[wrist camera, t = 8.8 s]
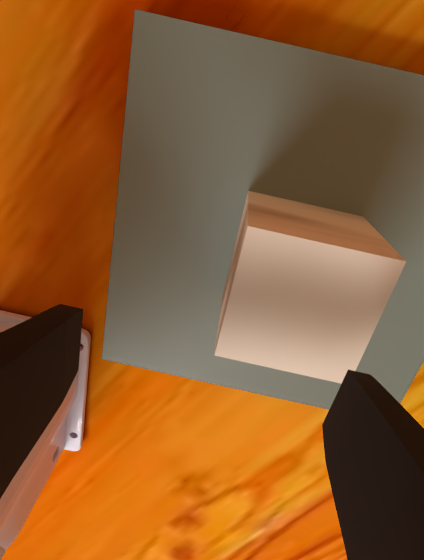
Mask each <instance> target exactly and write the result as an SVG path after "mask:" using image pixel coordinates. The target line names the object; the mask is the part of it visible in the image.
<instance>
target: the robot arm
mask: <svg viewBox="0 0 424 560" xmlns="http://www.w3.org/2000/svg"><path fill="white" fill-rule="evenodd" d="M82 317H83V309H80V308H76V307H71V306H67V305H62V304H60V305H57V306H55V307H53V308H50V309H48V310H46V311H44V312H42V313H40V314H38V315H36V316H34V317H29V316H24V315H20V314H15V313H11V312H6V311H2V310H0V560H1V559H2V557H3V555H4V553H5V550H6V549H7V548H8V547H9V546H10V545H11V544H12V543H13V541H14V540H15V539H16V537H17V536H18V534H19V532H20V531H21V529H22V527H23V525H24V523H25V521H26V519H27V518H28V516H29V514H30V512H31V510H32V508H33V506H34V504H35V502H36V501H37V499H38V497H39V495H40V493H41V491H42V489H43V487H44V485H45V484H46V482H47V480H48V478H49V476H50V474H51V472H52V470H53V468H54V467H55V465H56V463H57V461H58V459H59V457H60V455H61V453H62V451H63V450H64V449H66V450H70V451H78V450H80V448H81V446H82V444H83V432H84V419H85V406H86V393H87V380H88V367H89V354H90V341H91V336H90V334H89V332H88V331H87V330H85V329H83V328H82ZM80 343H81V344H82V345H83V346H80ZM323 438H324V449H325V459H326V465H327V470H328V474H329V479H330V483H331V488H332V493H333V497H334V501H335V506H336V510H337V514H338V519H339V523H340V527H341V532H342V536H343V540H344V545H345V549H346V554H347V559H348V560H424V428H423V427H422V426H421V425H420V424H419V423H418V422H417V421H416V420H415V419H414V418H413V417H412V416H411V415H410V414H409V413H408V412H407V411H406V410H405V409H404V408H403V407H402V405H401V404H400V403H399V402H398V401H397V400H396V399H395V398H394V397H393V396H392V395H391V394H390V393H389V392H388V391H387V390H386V389H385V388H384V387H383V386H382V385H381V384H380V383H379V382H378V381H377V380H376V379H375V378H374V377H373V376H372V375H370V374H366V373H362V372H357V371H353V370H348V371H347V373H346V375H345V377H344V379H343V382H342V384H341V386H340V388H339V390H338V392H337V395H336V397H335V399H334V401H333V403H332V405H331V408H330V410H329V412H328V414H327V416H326V418H325V420H324V423H323Z"/></svg>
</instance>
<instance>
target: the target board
mask: <svg viewBox="0 0 424 560" xmlns="http://www.w3.org/2000/svg"><path fill="white" fill-rule="evenodd" d="M248 191H252V192H257V193H261V194H265V195H270V196H274V197H279V198H283V199H288V200H292V201H296V202H301V203H305V204H310V205H314V206H319V207H323V208H328V209H332V210H336V211H341V212H345V213H350V214H354V215H359V216H363V217H364V218H365V219H366V220H367V221H368V222H369V223H370V224H371V225H372V226H373V227H374V228H375V229H376V230H377V232H378V233H379V234H380V235H381V236H382V237H383V238H384V239H385V240H386V241H387V242H388V243H389V244H390V245H391V246H392V247H393V248H394V249H395V250H396V251H397V252H398V253H399V254H400V256H401V257H402V258H403V259H404V260H405V261H406V263H405V266H404V268H403V270H402V272H401V274H400V276H399V278H398V281H397V283H396V285H395V287H394V289H393V291H392V293H391V296H390V298H389V300H388V302H387V304H386V306H385V309H384V311H383V313H382V315H381V317H380V319H379V321H378V324H377V326H376V328H375V330H374V332H373V334H372V336H371V339H370V341H369V343H368V345H367V347H366V349H365V351H364V354H363V356H362V358H361V360H360V362H359V364H358V366H357V369H356V371H357V372H362V373H366V374H370V375H372V376H373V377H374V378H375V379H376V380H377V381H378V382H379V383H380V384H381V385H382V386H383V387H384V388H385V389H386V390H387V391H388V392H389V393H390V394H391V395H392V396H393V397H394V398H395V399H396V400H397V401H398V402H399V403H400V402H401V401H402V399H403V397H404V395H405V393H406V392H407V390H408V388H409V386H410V385H411V383H412V381H413V379H414V377H415V376H416V374H417V372H418V370H419V368H420V367H421V365H422V363H423V361H424V75H421V74H417V73H413V72H408V71H404V70H399V69H395V68H391V67H386V66H382V65H378V64H373V63H369V62H364V61H360V60H356V59H351V58H347V57H343V56H338V55H334V54H329V53H325V52H321V51H316V50H312V49H307V48H303V47H299V46H294V45H290V44H286V43H281V42H277V41H272V40H268V39H264V38H259V37H255V36H251V35H246V34H242V33H237V32H233V31H229V30H224V29H220V28H215V27H211V26H207V25H202V24H198V23H194V22H189V21H185V20H180V19H176V18H172V17H167V16H163V15H159V14H154V13H150V12H145V11H141V10H137V9H135V13H134V24H133V34H132V45H131V55H130V66H129V76H128V87H127V97H126V108H125V118H124V129H123V140H122V150H121V161H120V171H119V182H118V192H117V203H116V213H115V224H114V234H113V245H112V255H111V266H110V277H109V287H108V298H107V308H106V319H105V329H104V340H103V350H102V359H103V360H108V361H112V362H117V363H121V364H126V365H130V366H135V367H140V368H144V369H149V370H153V371H158V372H162V373H167V374H171V375H176V376H180V377H185V378H189V379H194V380H198V381H203V382H207V383H212V384H216V385H221V386H225V387H230V388H234V389H239V390H243V391H248V392H252V393H257V394H261V395H266V396H270V397H275V398H279V399H284V400H288V401H293V402H297V403H302V404H306V405H311V406H315V407H320V408H324V409H329V410H330V408H331V405H332V403H333V401H334V399H335V397H336V395H337V392H338V390H339V388H340V386H341V383H336V382H332V381H327V380H323V379H318V378H314V377H309V376H305V375H300V374H296V373H291V372H287V371H282V370H278V369H273V368H269V367H264V366H260V365H255V364H251V363H246V362H242V361H237V360H233V359H228V358H224V357H219V356H215V348H216V341H217V333H218V326H219V319H220V312H221V304H222V297H223V291H224V287H225V283H226V279H227V275H228V271H229V267H230V263H231V259H232V254H233V250H234V246H235V242H236V238H237V234H238V230H239V226H240V222H241V218H242V214H243V210H244V206H245V201H246V197H247V193H248Z"/></svg>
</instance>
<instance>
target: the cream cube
mask: <svg viewBox="0 0 424 560" xmlns="http://www.w3.org/2000/svg"><path fill="white" fill-rule="evenodd" d="M405 263H406V261H405V260H404V259H403V258H402V257H401V256H400V254H399V253H398V252H397V251H396V250H395V249H394V248H393V247H392V246H391V245H390V244H389V243H388V242H387V241H386V240H385V239H384V238H383V237H382V236H381V235H380V234H379V233H378V232H377V230H376V229H375V228H374V227H373V226H372V225H371V224H370V223H369V222H368V221H367V220H366V219H365V218H364V217H363V216H359V215H354V214H350V213H345V212H341V211H336V210H332V209H328V208H323V207H319V206H314V205H310V204H305V203H301V202H296V201H292V200H288V199H283V198H279V197H274V196H270V195H265V194H261V193H257V192H252V191H248V193H247V197H246V201H245V206H244V210H243V214H242V218H241V222H240V226H239V230H238V234H237V238H236V242H235V246H234V250H233V254H232V259H231V263H230V267H229V271H228V275H227V279H226V283H225V287H224V291H223V297H222V304H221V312H220V319H219V326H218V333H217V341H216V348H215V356H219V357H224V358H228V359H233V360H237V361H242V362H246V363H251V364H255V365H260V366H264V367H269V368H273V369H278V370H282V371H287V372H291V373H296V374H300V375H305V376H309V377H314V378H318V379H323V380H327V381H332V382H336V383H341V384H342V382H343V379H344V377H345V375H346V373H347V371H348V370H353V371H356V369H357V366H358V364H359V362H360V360H361V358H362V356H363V354H364V351H365V349H366V347H367V345H368V343H369V341H370V339H371V336H372V334H373V332H374V330H375V328H376V326H377V324H378V321H379V319H380V317H381V315H382V313H383V311H384V309H385V306H386V304H387V302H388V300H389V298H390V296H391V293H392V291H393V289H394V287H395V285H396V283H397V281H398V278H399V276H400V274H401V272H402V270H403V268H404V266H405Z"/></svg>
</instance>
